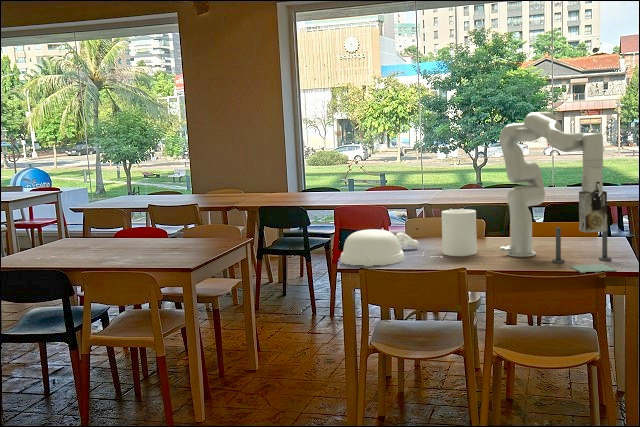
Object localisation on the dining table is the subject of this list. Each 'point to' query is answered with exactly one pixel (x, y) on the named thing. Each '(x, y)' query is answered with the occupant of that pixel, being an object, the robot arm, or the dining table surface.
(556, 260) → the post
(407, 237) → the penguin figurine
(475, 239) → the canister
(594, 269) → the green mat
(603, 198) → the coffee box
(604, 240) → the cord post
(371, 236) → the dome cover
